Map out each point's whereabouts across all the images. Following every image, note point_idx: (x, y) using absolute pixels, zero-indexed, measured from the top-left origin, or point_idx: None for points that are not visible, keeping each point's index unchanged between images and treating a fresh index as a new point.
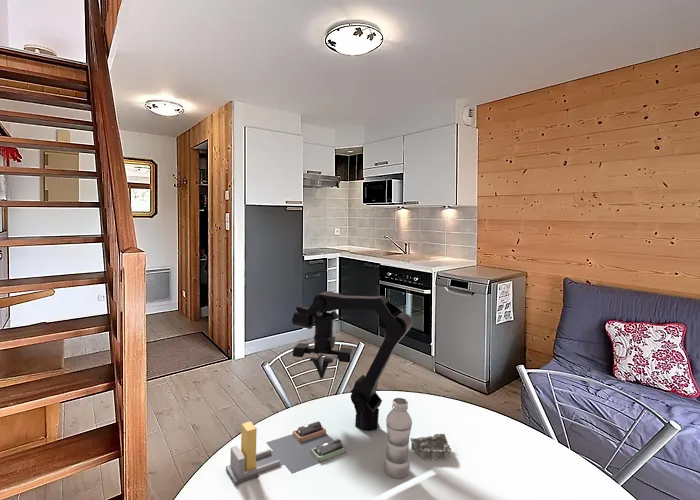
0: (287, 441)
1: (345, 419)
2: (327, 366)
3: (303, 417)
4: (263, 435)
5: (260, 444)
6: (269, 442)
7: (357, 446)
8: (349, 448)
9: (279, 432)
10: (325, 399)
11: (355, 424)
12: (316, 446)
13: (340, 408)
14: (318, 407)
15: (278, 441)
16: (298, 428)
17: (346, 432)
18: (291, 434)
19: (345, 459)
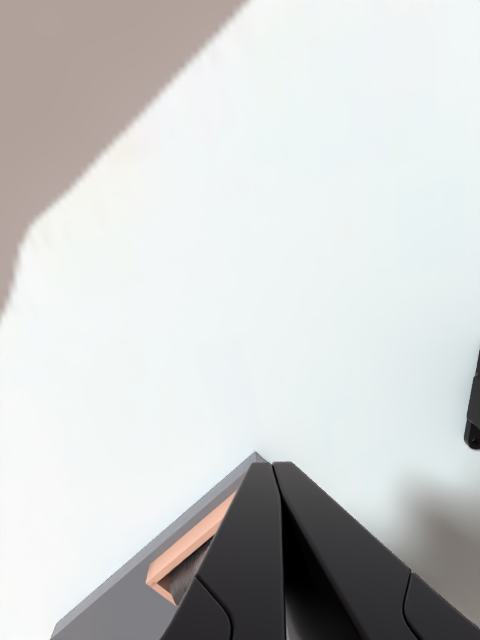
0: (144, 612)
1: (399, 319)
2: (435, 597)
3: (140, 357)
4: (2, 561)
5: (26, 620)
6: (65, 637)
7: (467, 537)
8: (431, 558)
9: (68, 523)
10: (221, 58)
11: (476, 426)
12: None
13: (355, 183)
14: (199, 206)
15: (102, 621)
16: (174, 594)
17: (412, 445)
18: (142, 562)
19: None
